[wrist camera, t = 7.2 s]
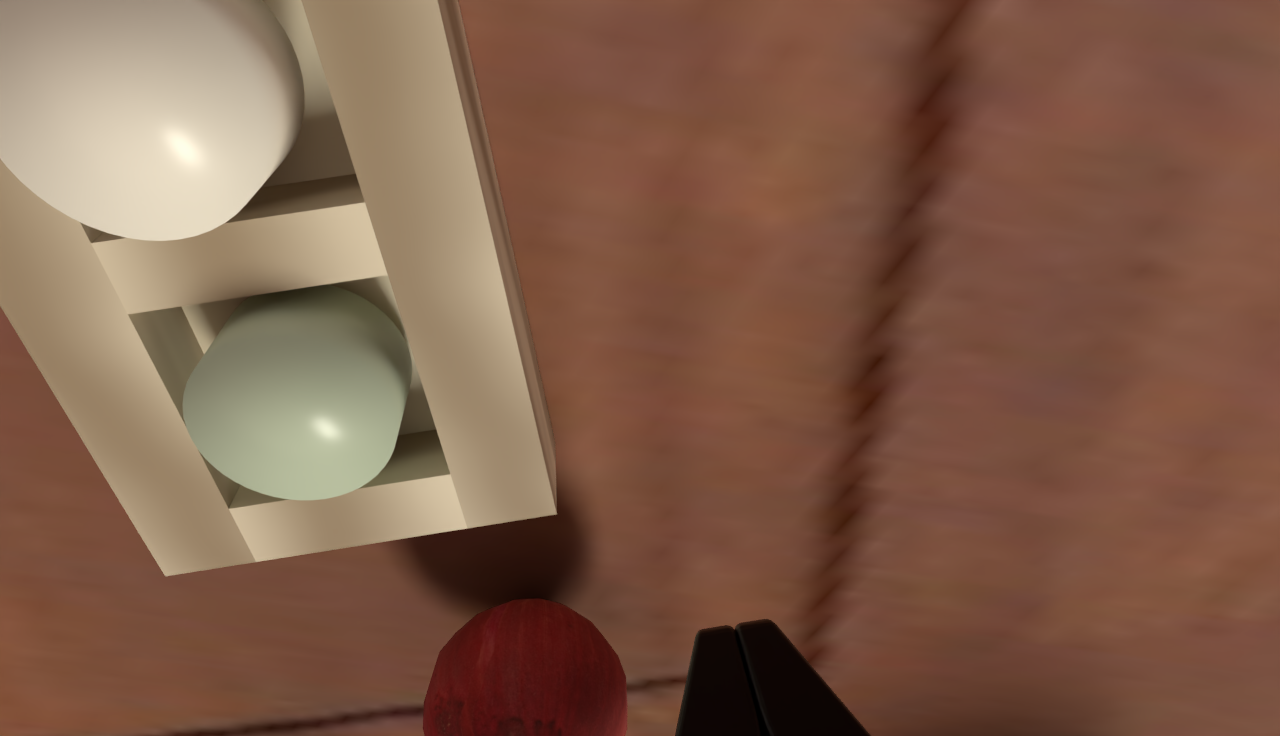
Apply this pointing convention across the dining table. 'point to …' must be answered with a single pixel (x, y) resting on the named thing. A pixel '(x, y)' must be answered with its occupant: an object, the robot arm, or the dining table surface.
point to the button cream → (146, 109)
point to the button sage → (300, 393)
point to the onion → (527, 676)
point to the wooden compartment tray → (298, 258)
